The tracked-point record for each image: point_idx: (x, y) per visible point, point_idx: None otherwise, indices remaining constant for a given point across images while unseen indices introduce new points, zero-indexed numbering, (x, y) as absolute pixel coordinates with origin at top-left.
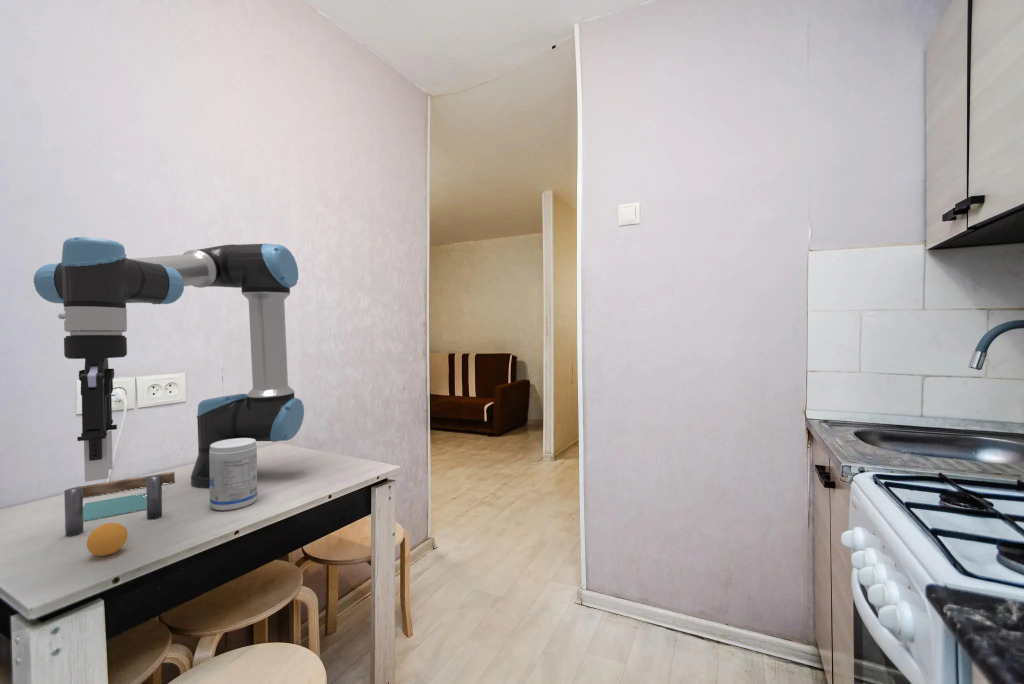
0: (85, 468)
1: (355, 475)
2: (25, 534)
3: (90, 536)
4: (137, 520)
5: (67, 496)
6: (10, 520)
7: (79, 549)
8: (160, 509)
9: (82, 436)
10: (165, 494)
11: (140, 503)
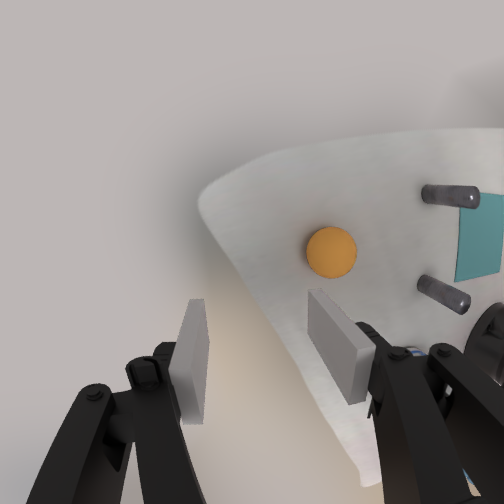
0: (185, 317)
1: (379, 465)
2: (452, 143)
3: (328, 235)
4: (427, 263)
5: (463, 190)
6: (492, 129)
7: (368, 208)
8: (426, 294)
9: (83, 388)
10: (486, 280)
11: (476, 257)
